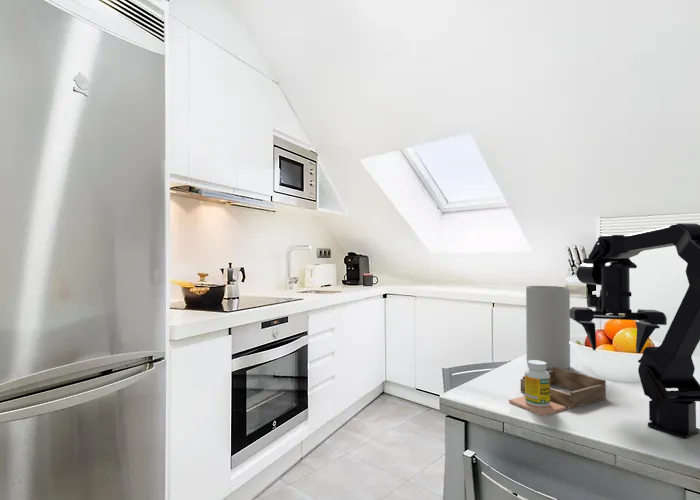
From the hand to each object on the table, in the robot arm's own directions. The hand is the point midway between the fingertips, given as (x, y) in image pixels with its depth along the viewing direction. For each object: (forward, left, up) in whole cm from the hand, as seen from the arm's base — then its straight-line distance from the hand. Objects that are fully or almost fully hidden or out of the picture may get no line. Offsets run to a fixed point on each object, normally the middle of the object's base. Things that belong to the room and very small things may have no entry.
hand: (615, 351), depth 94 cm
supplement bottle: (+7, +19, -12) cm, 24 cm away
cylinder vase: (+28, -14, -12) cm, 34 cm away
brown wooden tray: (+9, +7, -12) cm, 17 cm away
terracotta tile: (+7, +19, -12) cm, 24 cm away
